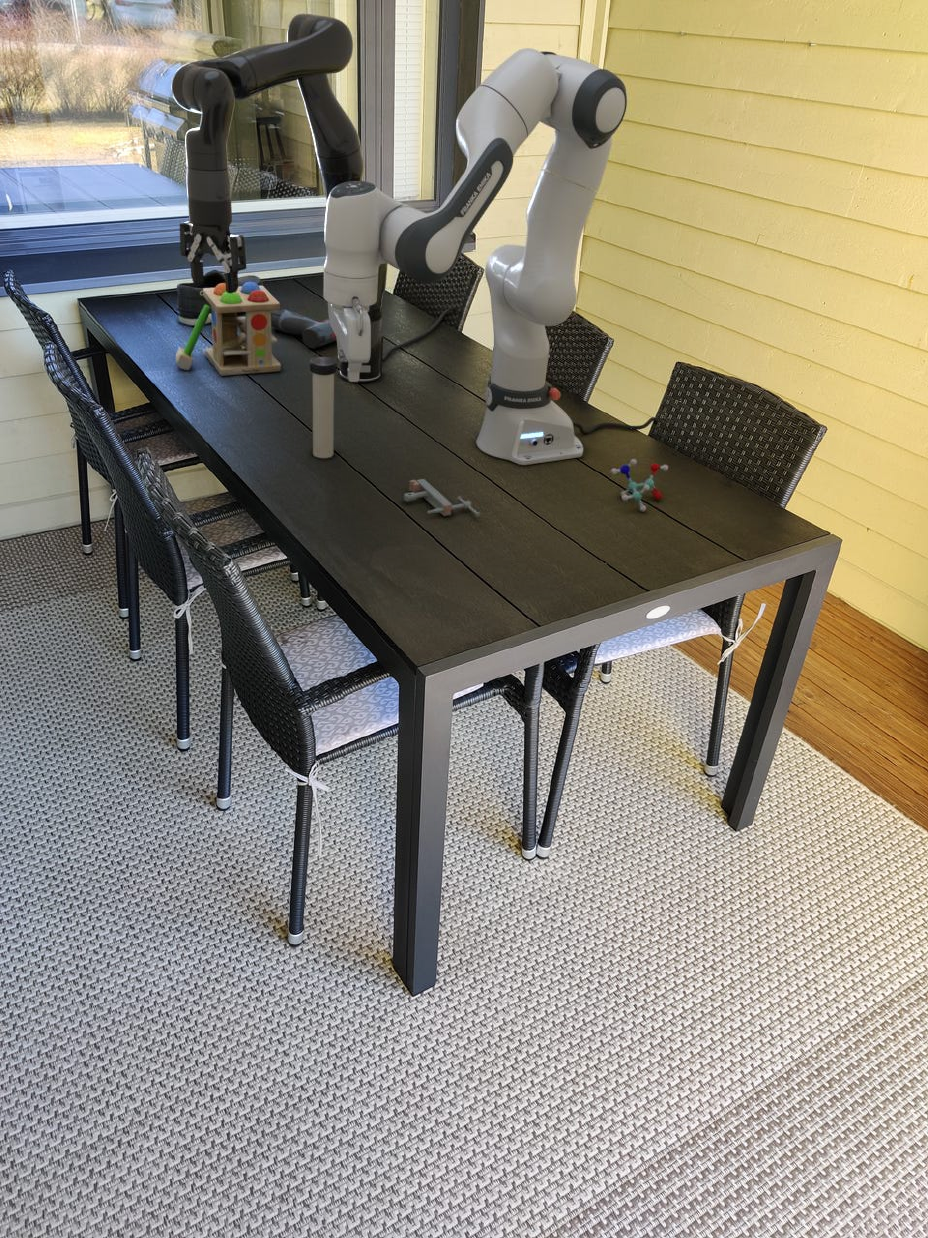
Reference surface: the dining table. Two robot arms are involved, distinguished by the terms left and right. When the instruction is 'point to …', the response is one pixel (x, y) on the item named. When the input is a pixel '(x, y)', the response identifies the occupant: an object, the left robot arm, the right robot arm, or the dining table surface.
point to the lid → (323, 365)
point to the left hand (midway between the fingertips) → (214, 287)
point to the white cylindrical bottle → (323, 415)
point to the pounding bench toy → (229, 347)
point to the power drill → (303, 327)
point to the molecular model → (633, 485)
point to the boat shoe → (193, 297)
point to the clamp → (434, 498)
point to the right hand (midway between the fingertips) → (348, 370)
